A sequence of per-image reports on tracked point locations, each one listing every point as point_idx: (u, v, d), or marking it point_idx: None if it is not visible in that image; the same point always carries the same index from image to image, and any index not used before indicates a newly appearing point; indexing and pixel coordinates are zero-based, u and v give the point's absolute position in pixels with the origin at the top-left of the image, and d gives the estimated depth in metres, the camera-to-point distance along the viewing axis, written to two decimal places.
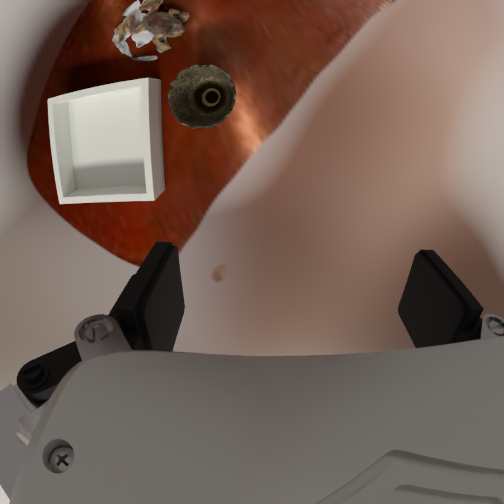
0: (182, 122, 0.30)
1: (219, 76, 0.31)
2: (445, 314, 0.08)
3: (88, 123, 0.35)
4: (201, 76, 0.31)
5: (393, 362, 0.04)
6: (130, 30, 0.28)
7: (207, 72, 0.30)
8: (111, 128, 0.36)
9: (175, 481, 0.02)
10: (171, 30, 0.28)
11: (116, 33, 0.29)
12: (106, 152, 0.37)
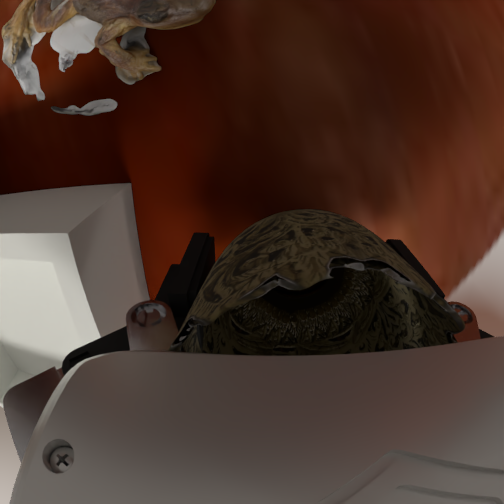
0: None
1: None
2: None
3: None
4: None
5: (393, 362, 0.04)
6: (36, 23, 0.07)
7: None
8: (36, 299, 0.14)
9: (175, 481, 0.02)
10: (161, 1, 0.06)
11: (6, 39, 0.07)
12: (44, 340, 0.15)
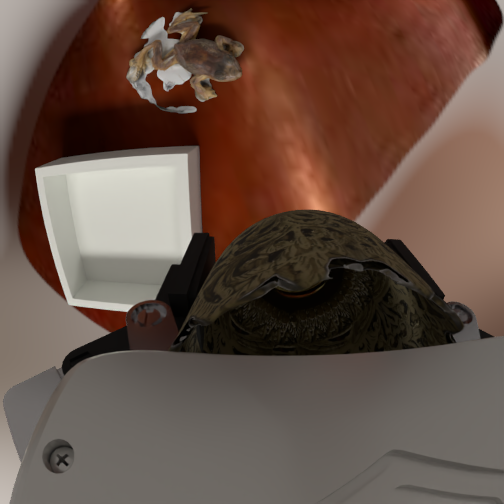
0: None
1: None
2: None
3: (95, 200, 0.28)
4: None
5: (393, 362, 0.04)
6: (154, 64, 0.21)
7: None
8: (129, 211, 0.28)
9: (175, 481, 0.02)
10: (223, 72, 0.21)
11: (133, 67, 0.22)
12: (125, 242, 0.30)
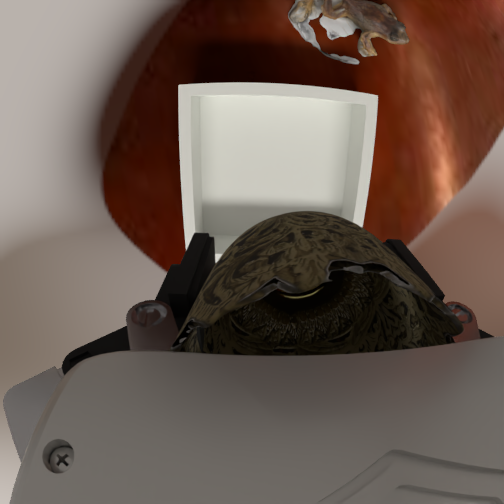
0: None
1: None
2: None
3: (239, 137, 0.26)
4: None
5: (393, 362, 0.04)
6: (326, 11, 0.19)
7: None
8: (281, 151, 0.27)
9: (175, 481, 0.02)
10: (398, 35, 0.18)
11: (302, 8, 0.19)
12: (268, 187, 0.28)
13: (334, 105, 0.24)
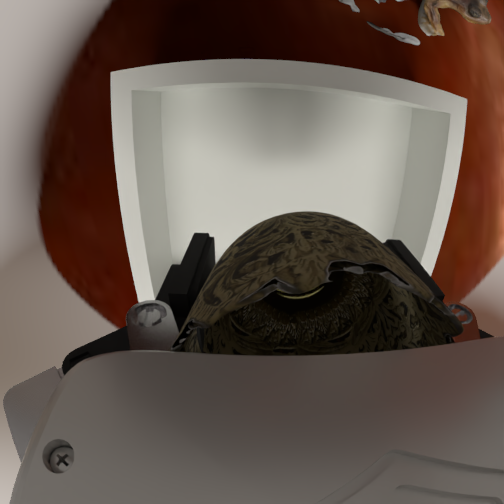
0: None
1: None
2: None
3: (227, 159, 0.16)
4: None
5: (393, 362, 0.04)
6: None
7: None
8: (299, 183, 0.16)
9: (175, 481, 0.02)
10: (480, 9, 0.08)
11: None
12: None
13: (386, 108, 0.14)
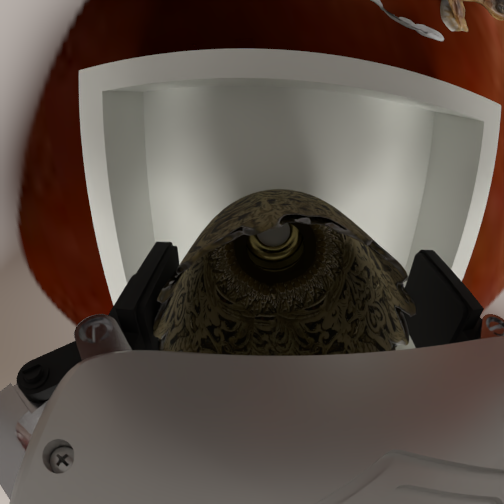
0: None
1: None
2: (445, 314, 0.08)
3: (221, 170, 0.13)
4: None
5: (393, 362, 0.04)
6: None
7: None
8: None
9: (175, 481, 0.02)
10: None
11: None
12: None
13: (406, 111, 0.12)
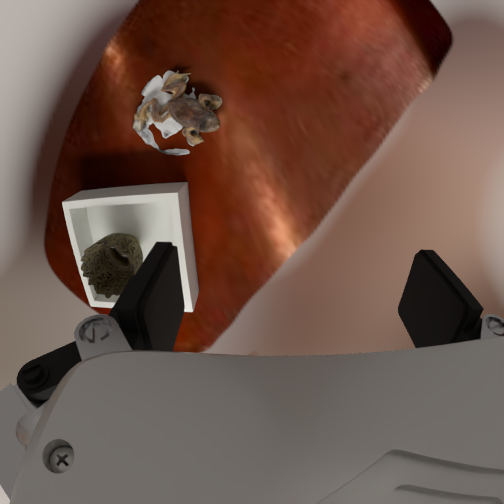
0: (98, 292, 0.33)
1: None
2: (445, 314, 0.08)
3: (110, 224, 0.37)
4: None
5: (393, 362, 0.04)
6: (154, 118, 0.31)
7: None
8: (137, 232, 0.38)
9: (175, 481, 0.02)
10: (206, 126, 0.30)
11: (137, 120, 0.31)
12: None
13: None
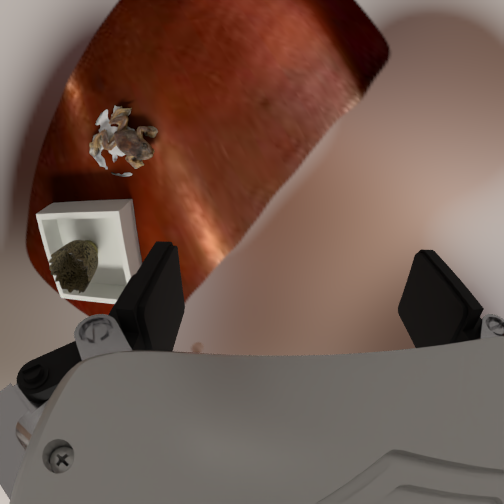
0: (63, 287, 0.39)
1: None
2: (445, 313, 0.08)
3: (75, 231, 0.43)
4: None
5: (393, 362, 0.04)
6: (104, 146, 0.36)
7: None
8: (95, 238, 0.43)
9: (175, 481, 0.02)
10: (141, 156, 0.35)
11: (91, 148, 0.36)
12: None
13: None
